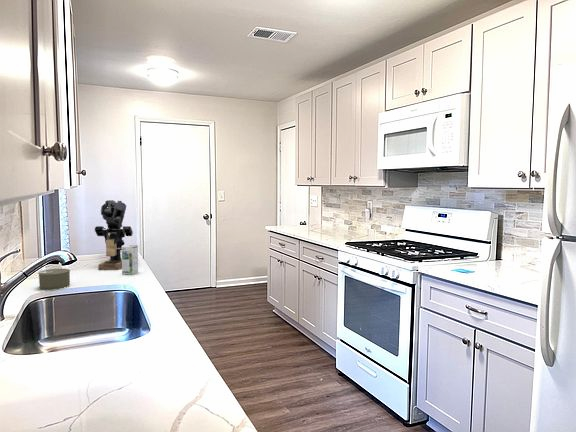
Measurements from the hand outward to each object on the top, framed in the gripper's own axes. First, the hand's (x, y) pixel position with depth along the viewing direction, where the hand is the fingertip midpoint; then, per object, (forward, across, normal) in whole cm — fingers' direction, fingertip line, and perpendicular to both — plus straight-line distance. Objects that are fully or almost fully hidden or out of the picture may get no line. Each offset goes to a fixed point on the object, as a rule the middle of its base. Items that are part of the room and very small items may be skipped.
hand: (110, 243), depth 216 cm
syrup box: (+18, +14, +1) cm, 23 cm away
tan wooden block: (+4, 0, +6) cm, 7 cm away
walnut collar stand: (+8, 0, +11) cm, 14 cm away
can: (+36, -10, -17) cm, 42 cm away
